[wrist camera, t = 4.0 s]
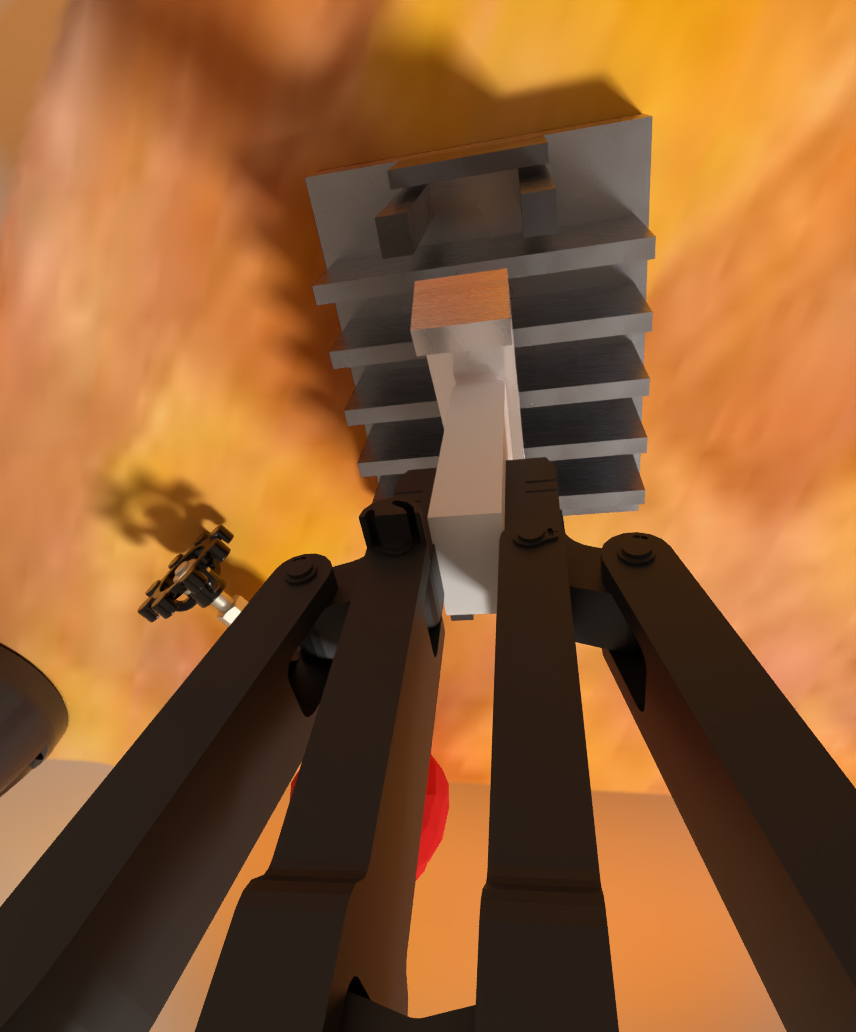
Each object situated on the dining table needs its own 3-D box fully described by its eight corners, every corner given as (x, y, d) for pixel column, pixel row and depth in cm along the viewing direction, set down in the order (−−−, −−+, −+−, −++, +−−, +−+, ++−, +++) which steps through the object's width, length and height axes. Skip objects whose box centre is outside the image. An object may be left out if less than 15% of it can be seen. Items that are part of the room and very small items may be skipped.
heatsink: (631, 501, 33) (663, 611, 27) (397, 518, 36) (370, 624, 29) (642, 113, 24) (698, 127, 17) (317, 171, 26) (248, 205, 19)
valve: (371, 628, 41) (237, 506, 37) (351, 710, 36) (191, 580, 31) (303, 665, 44) (170, 555, 39) (275, 746, 39) (118, 630, 34)
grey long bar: (540, 579, 29) (543, 621, 28) (480, 582, 29) (481, 624, 28) (514, 263, 16) (518, 316, 15) (407, 278, 16) (402, 331, 15)
